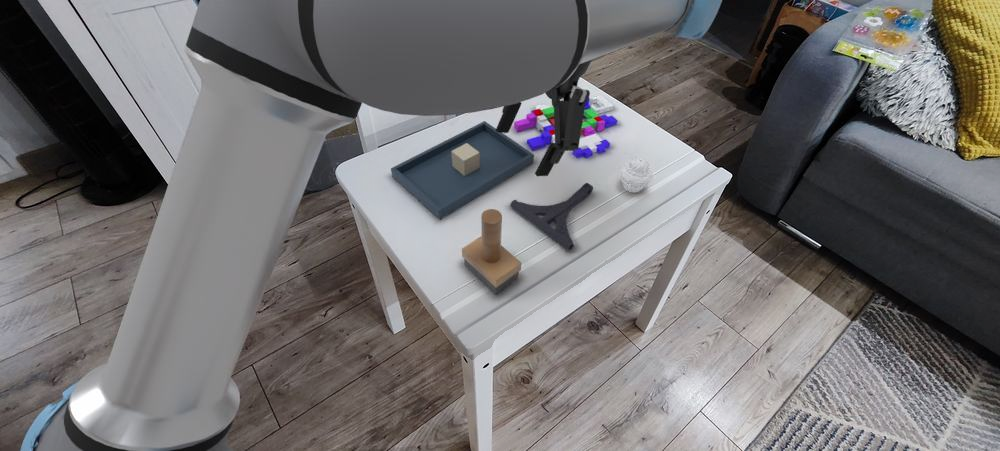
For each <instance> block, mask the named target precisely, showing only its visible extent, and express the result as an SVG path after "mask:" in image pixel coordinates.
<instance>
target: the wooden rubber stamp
mask: <svg viewBox="0 0 1000 451" xmlns="http://www.w3.org/2000/svg"><path fill="white" fill-rule="evenodd" d="M480 216H481V217H480V218H481V220H480V221H481V236H479V237H477V239H475V240H473V241H472V242H470V243H468V244H467V245H466V246H464V247H462V248H461V255H462V259H463V261H464V262H463V263H464V266H465V267H466V268H467V269H468V270H469V271H470V272H471V273H472V275H474V276H475V277H476V278H477V279H478V280H479V281H480V282H482V284H483V285H484V286H486V287H487V288H488V289H489V290H490V291H491V292H492V293H493V294H494V295H495V296H497V295H498V294H499V293H501V292H503V290H504V289H507V288H508V287H509V286H510V285H511V284H513V283H514V282H515V281H517V280H518V279H519V273H520V271H521V270H522V261H520V260H519V259H518V258H517V257H516V256H515V255H513V253H511V252H510V251H509V250H508V249H506V248H505V247H504V246H503V245H502V232H503V231H502V230H503V229H502V226H503V215H502V212H500V211H499V210H497V209H495V208H488V209H486V210H484V211H483V212H482V213H481V215H480Z"/></svg>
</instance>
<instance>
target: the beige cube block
mask: <svg viewBox="0 0 1000 451" xmlns="http://www.w3.org/2000/svg"><path fill="white" fill-rule="evenodd" d="M451 153H452V166H453V167H454V168H455V169H456V170H458V171H459V172H460V173H461V174H463V175H464V176H466V175H468V174H469V173H471V172H473V171H475V170H476V169H478V168H480V154H479V152H478V151H477V150H476V149H474V148H473V147H472V146H470V145H469V144H467V143H466V144H464V145H462V146H460V147H458V148H456V149H454V150H452V151H451Z"/></svg>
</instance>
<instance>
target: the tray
mask: <svg viewBox="0 0 1000 451" xmlns="http://www.w3.org/2000/svg"><path fill="white" fill-rule="evenodd" d="M496 128H497V127H494V126H493V125H492V124H490V123H488V122H487V121H485V120H484V121H482V122H480V123H478V124H476V125H474V126H471V127H470V128H468V129H465V130H463V131H462V132H460V133H458V134H456V135H453V136H452V137H450V138H448V139H446V140H444V141H442V142H440V143H438V144H437V145H436V144H435V145H434V146H432V147H430V148H427V149H426V150H424V151H422V152H420V153H418V154H416V155H414V156H413V157H411V158H409V159H407V160H405V161H403V162H401V163H399V164H397V165H394V166H393V167H391V168H390V173H391V177H392V179H394V180H395V181H396V182H397V183H398V184H399V185H400V186H402V187H403V188H404V189H405V190H406V191H407V192H408V193H409V194H410V195H411V196H412V197H414V198H415V199H416V200H417V201H418V202H419V203H420V204H421V205H422V206H424V207H425V209H427V210H428V211H429V212H430V213H431V214H433V215H434V216H435V217H436V218H437V219H438V220H441V219H443V218H445V217H446V216H449V215H450V214H451V213H453V212H455V211H456V210H458V209H459V208H461V207H462V206H464V205H467V204H468V203H470V202H471V201H473V200H475V199H477V198H478V197H479V196H481V195H483V194H485V193H486V192H488V191H490V190H492V189H493V188H494V187H496V186H498V185H500V184H501V183H502V182H505V181H506V180H508V179H509V178H511V177H513V176H514V175H516V174H518V173H520V172H521V171H523V170H524V169H526V168H528V167H529V166H531V165H533V164H534V160H535V154H534V153H532V152H531V151H529V150H528V149H527V148H525V147H524V146H522V145H521V144H519V143H518V142H516V141H515V140H514V139H512V138H510V137H509V136H507V135H506V134H505V133H500V132H497V131H496ZM466 143H467V144H469V145H470V146H472V147H473V148H474V149H476V150H477V151H478V152H479V154H480V168H478V169H476V170H475V171H473V172H471V173H469V174H468V175H466V176H464V175H463V174H461V173H460V172H459V171H458V170H456V169H455V168H454V167H453V166H452V153H451V151H452V150H454V149H456V148H458V147H460V146H462V145H464V144H466Z"/></svg>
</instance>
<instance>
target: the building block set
mask: <svg viewBox="0 0 1000 451" xmlns="http://www.w3.org/2000/svg"><path fill="white" fill-rule="evenodd" d="M571 94H572V93H571ZM594 104H597V105H598V106H599V107H596V106H595V105H594ZM613 110H614V105H613V104H612V103H611V102H610V101H608V100H607V98H605V97H604V96H603V95H602V94H601V95H597V96H593V97H592V96H591V95H589V97H588V100H587V102H586V104H585V109H584V116H583V119H585V118H586V121H584V120H583V122H582V128H581V135H583V137H580V141H579V148H578V150H577V151H572V155H573V156H574V157H575V158H576V159H578V158H581V157H583V158H584V159H587V158H590V157H593V154H594V153H597V154H598V155H600V154H603V153H606V151H607V149H610V146H611V143H610V142H609V140H607V139H606V138H605V139H602V138H601V137H600V136H599V135H598V134H597V133H599V132H603V131H604V130H605V129H607V128H610V127H613V126H616V125H618V119H617V118H616V117H614V115H609V116H608V115H607V114H603V113H606V112H610V111H613ZM600 114H602V115H600ZM513 128H514V130H515V131H516V133H519V132H523V131H526V130H527V131H528V130H530V129H533V128H536V129H537V130H538V131H539V132H540V131H542V132H541V133H540V135H538V136H536V137H531V138H527V139H526V146H528V147H529V149H530V150H531V151H536V150H539V149H542V148H546V146H547V145H548V146H549V145H550V143H555V124H554V106H553V105H552V106H550V105H547V104H544V103H542V104H538V105H535V109H532V110H531V111H530V113H527V114H526V117H525V118H523V119H519V120H514V121H513ZM595 131H596V132H595ZM562 140H563V139H562Z"/></svg>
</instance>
